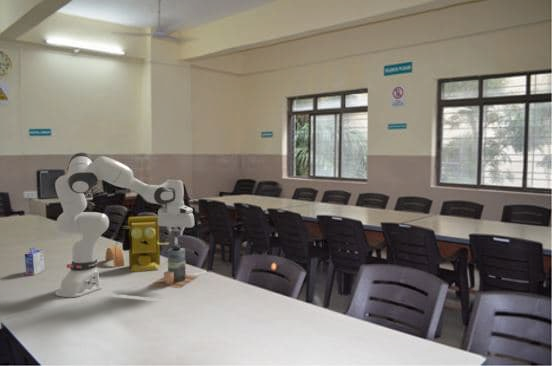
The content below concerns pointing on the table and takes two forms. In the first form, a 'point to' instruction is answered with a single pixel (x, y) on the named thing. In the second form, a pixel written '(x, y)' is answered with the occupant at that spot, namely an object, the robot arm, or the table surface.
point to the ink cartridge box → (34, 262)
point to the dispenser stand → (176, 269)
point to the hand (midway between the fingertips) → (176, 234)
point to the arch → (111, 256)
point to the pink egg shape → (169, 278)
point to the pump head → (174, 235)
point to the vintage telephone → (142, 243)
